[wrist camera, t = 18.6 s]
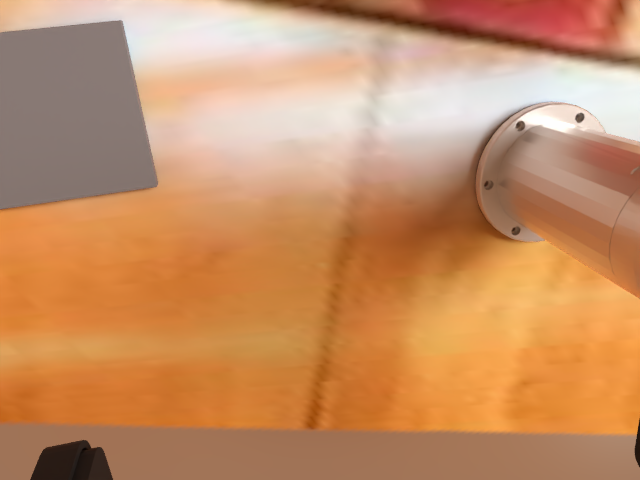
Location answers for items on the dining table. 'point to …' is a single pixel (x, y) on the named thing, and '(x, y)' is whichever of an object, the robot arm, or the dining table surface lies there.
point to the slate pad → (70, 116)
